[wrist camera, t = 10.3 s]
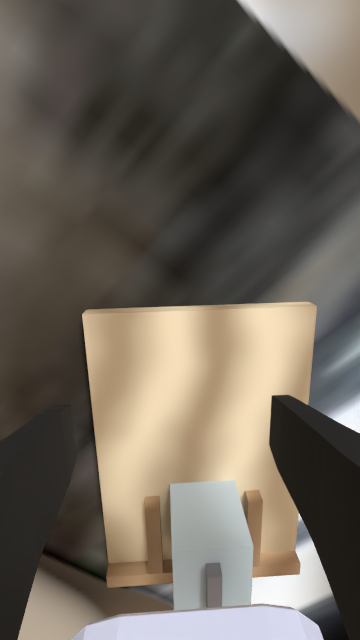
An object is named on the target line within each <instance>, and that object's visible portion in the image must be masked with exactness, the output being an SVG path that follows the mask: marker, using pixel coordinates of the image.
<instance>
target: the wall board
mask: <svg viewBox="0 0 360 640" xmlns="http://www.w3.org/2000/svg"><path fill="white" fill-rule="evenodd" d="M316 310H317V306H316V305H314V304H312V303H310V302H290V303H261V304H232V305H204V306H175V307H146V308H118V309H89V310H86V311H85V312H84V313H83V314H82V318H83V327H84V337H85V346H86V355H87V365H88V374H89V384H90V393H91V402H92V412H93V421H94V431H95V440H96V450H97V459H98V468H99V478H100V487H101V497H102V506H103V515H104V525H105V534H106V544H107V553H108V563H109V564H108V570H107V577H106V578H107V586H108V588H110V587H124V586H139V585H153V584H167V583H173V567H172V538H171V503H170V484H174V483H192V482H209V481H227V480H235V483H236V487H237V490H238V494H239V497H240V501H241V504H242V508H243V511H244V515H245V518H246V522H247V525H248V529H249V532H250V536H251V539H252V543H253V546H254V547H253V569H252V578H253V577H267V576H281V575H296V574H300V562H299V559H298V557H297V554H296V552H295V547H296V536H297V525H298V513H299V512H298V510H297V508H296V506H295V504H294V502H293V500H292V498H291V496H290V494H289V492H288V490H287V488H286V486H285V484H284V482H283V480H282V478H281V476H280V474H279V472H278V469H277V467H276V464H275V461H274V458H273V455H272V452H271V449H270V446H269V436H270V418H271V400H272V395H290V396H292V397H294V398H296V399H298V400H300V401H302V402H303V403H305V404H307V405H308V400H309V389H310V378H311V367H312V355H313V344H314V333H315V322H316Z"/></svg>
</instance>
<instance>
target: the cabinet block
mask: <svg viewBox="0 0 360 640" xmlns="http://www.w3.org/2000/svg"><path fill="white" fill-rule="evenodd" d="M170 503H171V538H172V567H173V593H174V610H184V609H197V608H211V607H225V606H238V605H251V591H252V569H253V547H254V546H253V543H252V539H251V536H250V532H249V529H248V525H247V522H246V518H245V515H244V511H243V508H242V504H241V501H240V497H239V494H238V490H237V487H236V483H235V480H227V481H209V482H192V483H174V484H170Z"/></svg>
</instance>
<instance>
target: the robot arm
mask: <svg viewBox="0 0 360 640" xmlns="http://www.w3.org/2000/svg"><path fill="white" fill-rule="evenodd" d="M269 446H270V449H271V452H272V455H273V458H274V461H275V464H276V467H277V469H278V472H279V474H280V476H281V478H282V480H283V482H284V484H285V486H286V488H287V490H288V492H289V494H290V496H291V498H292V500H293V502H294V504H295V506H296V508H297V510H298V512H299V514H300V516H301V518H302V520H303V521H304V523H305V525H306V527H307V530H308V532H309V534H310V536H311V538H312V540H313V543H314V545H315V548H316V550H317V553H318V555H319V558H320V561H321V563H322V566H323V568H324V571H325V573H326V576H327V579H328V581H329V584H330V587H331V590H332V592H333V595H334V598H335V601H336V603H337V606H338V609H339V611H340V614H341V617H342V620H343V623H344V626H345V629H346V632H347V635H348V638H349V640H360V433H358V432H356V431H354V430H352V429H350V428H348V427H346V426H344V425H342V424H340V423H338V422H336V421H335V420H333V419H331V418H329V417H328V416H326V415H324V414H322V413H321V412H319V411H317V410H315V409H314V408H312V407H310V406H309V405H307V404H305V403H303V402H302V401H300V400H298V399H296V398H294V397H292V396H290V395H272V400H271V418H270V436H269ZM75 459H76V447H75V439H74V431H73V423H72V415H71V407H70V405H57V406H51V407H50V408H48V409H46V410H45V411H44V412H42V413H41V414H39V415H38V416H36V417H35V418H34V419H32V420H31V421H29V422H28V423H27V424H25V425H24V426H22V427H21V428H20V429H18V430H17V431H15V432H14V433H12V434H11V435H10V436H8V437H6V438H5V439H3V440H2V441H0V640H17V639H18V635H19V631H20V628H21V624H22V620H23V616H24V613H25V609H26V606H27V602H28V598H29V594H30V591H31V588H32V584H33V581H34V577H35V574H36V571H37V567H38V564H39V560H40V558H41V555H42V552H43V549H44V546H45V544H46V541H47V539H48V536H49V533H50V531H51V528H52V526H53V523H54V521H55V518H56V516H57V513H58V511H59V508H60V506H61V503H62V501H63V498H64V496H65V493H66V490H67V488H68V485H69V483H70V479H71V475H72V472H73V468H74V463H75ZM70 640H324V639H323V637H322V634H321V632H320V629H319V627H318V625H317V624H315V623H314V622H313V621H311V620H310V619H308V618H307V617H306V616H304V615H303V614H301V613H300V612H299V611H297V610H295V609H293V608H291V607H285V606H277V605H269V604H252V605H238V606H225V607H211V608H197V609H184V610H170V611H157V612H143V613H129V614H120V615H116V616H112V617H108V618H104V619H101V620H97V621H94V622H91V623H89V624H88V625H86V626H85V627H84V628H83V629H82V630H81V631H79V632H78V633H77V634H76V635H75V636H74V637H73V638H71V639H70Z"/></svg>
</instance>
